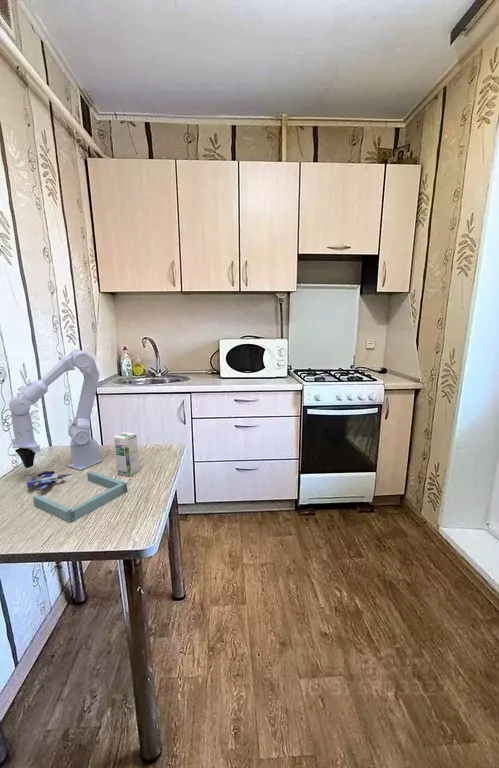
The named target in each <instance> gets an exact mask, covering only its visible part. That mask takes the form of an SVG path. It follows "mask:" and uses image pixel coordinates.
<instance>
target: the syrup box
mask: <svg viewBox="0 0 499 768" xmlns="http://www.w3.org/2000/svg"><path fill="white" fill-rule="evenodd" d="M137 437H138V436H137V433H133V432H126V431H123V432H120V433H118V434H116V435H115V436H113V441H114V450H115V452H114V453H115V459H116V469H117V470H116V471H117V472H116V473H117V475H120V476H127V477H131V476H133V475H134V474H135V473H137V472H138V471H140V469H141V468H140V461H139V460H140V459H139V449H138V438H137Z"/></svg>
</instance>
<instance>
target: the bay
mask: <svg viewBox="0 0 499 768" xmlns="http://www.w3.org/2000/svg"><path fill="white" fill-rule="evenodd" d="M86 476H87V477H86V478H87V481H88V482H91V483H94V484H97V485H99V486H102V487H105V488H108V489H107V490H105V491H103V492H101V493H99V494H97V495H96V496H94V497H92V498H89V499H88V500H86V501H84V502H81V503H80V504H78V505H76V506H74V507H72V508H69V507H68V506H64V505H62V504H61V503H58V502H56V501H53V500H52V499H50V498H49V499H48V498H47V497H44V496H42V495H41V494H40V495H39V494H36V495H34V496H32V499H33V500H32V501H33V505H34V507H36V508H39V509H41V510H43V511H45V512H46V513H49V514H51V515H53V516H56V517H57V518H60V519H62V520H64V521H66V522H67V523H68V522H69V523H72V522H75V521H76V520H79V519H80V518H81V517H84V516H86V515H87V514H89V513H91V512H93V511H95V510H96V509H98V508H100V507H102V506H104V505H105V504H107V503H109V502H111V501H113V500H114V499H116V498H118V497H120V496H122V495H123V494H125V493H127V492H128V484H127V482H125V481H121V480H119V479H116V478H113V477H110V476H107V475H104V474H101V473H98V472H95V471H92V470H90V471H87V472H86Z"/></svg>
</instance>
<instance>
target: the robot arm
mask: <svg viewBox="0 0 499 768" xmlns="http://www.w3.org/2000/svg"><path fill="white" fill-rule="evenodd" d="M75 367H76V368H77V369H78V370H79V371H80V373H81V374H82V375H83V376H84V377H83V382H82V386H81V391H80V396H79V401H78V405H77V410H76V413H75V417H74V418H73V420H72V421H73V422H72V424H71V425H70V426H69V428H68V431H67V432H68V436H69V437H70V438H71V441H70V442H69V444H70V454H71V460H72V463H69V464H68V465H67V467H69V468H72V469H76V470H78V471H82V470H84V469H87V468H89V467H91V466H94V465H96V464H98V463H99V464H100V462H102V461H103V460H102V459H101V455H100V445H99V443H98V441H97V440H96V439H94V438H91V437H92V436H91V431H90V430H91V421H90V420H91V416H92V411H93V406H94V402H95V397H96V394H97V393H96V392H97V390H98V389H97V388H98V383H99V380H100V372H99V369H98V366H97V365H96V362H95V359H94V358H93V357H92V355H91V354H90V353H89V352H87V351H84V350H82V349H73V350H72V351H71V352H69V354H67V355H65V356H64V357H63V358H62V359H60V361H58V362H56V364H55V365H54V366H53V367H51V369H50V370H49V371H48V372H47V373H46V374H45V375H43V377H42V378H41V379H38V380H37V379H34V380H32V381H29V382H27V386H26V387H24V389H22V390H21V391H20V392H17V393H16V396H14V397H12V398H11V399H10V400H9V403H8V408H9V410H10V412H11V424H12V430H13V436H14V439H11V443H12V449H15V450H14V451H15V453H16V454H17V455H18V456H19V458H20V460H21V462H22V464H23V466H24V468H26V469H29V468H32V467H34V463H35V462H34V461H35V456H36V453H37V452H39V451H41V446H40V445H41V444H40V445H39V444H38V442H37V441H36V439H35V434H34V428H33V421H32V416H31V415H30V413H31V412H30V410H31V406H32V405H35V404H36V403H37V402H38V401H39V400H41V398H43V397H44V396H45V395H46V394H47V393H48V392H49V390H48V389H49V388H48V387H50V385H51V384H52V383H54V382H55V381H56V380H57V379H59V378H60V377H61V376H62V375H63V374H64V373H66V372H68V371H69V372H70V371H75V370H76V368H75Z"/></svg>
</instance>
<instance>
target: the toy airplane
mask: <svg viewBox="0 0 499 768" xmlns="http://www.w3.org/2000/svg"><path fill="white" fill-rule="evenodd" d="M55 473H56V471H55V470H50V471H48V470H45V471H42V472H39V473H38V474H37V475H36V476H37V477H40V479H36V477H35V476H32V475H25V479H26V480H25V481H26V485H27V488H31V487H34V485H35V488H36V491H37V492H38V491H40V490H43V489H46V488H48V487H51V486H54V485H55V484H56V482H57V481H58V480H61V481H60V482H61V483H62V484H64V483H65V479H64V478H65V477H68V476H71V475H75V474H77V472H75V473H64V472H60V473H58V474H55Z"/></svg>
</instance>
